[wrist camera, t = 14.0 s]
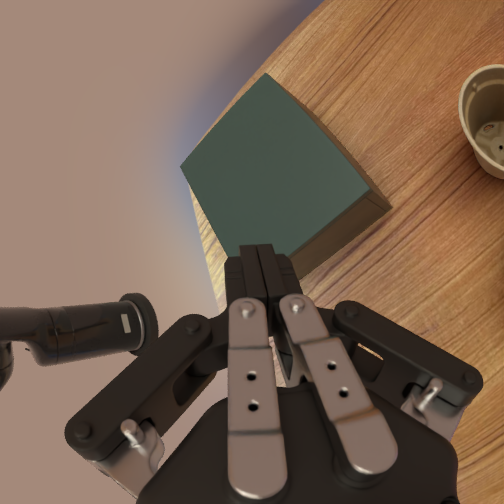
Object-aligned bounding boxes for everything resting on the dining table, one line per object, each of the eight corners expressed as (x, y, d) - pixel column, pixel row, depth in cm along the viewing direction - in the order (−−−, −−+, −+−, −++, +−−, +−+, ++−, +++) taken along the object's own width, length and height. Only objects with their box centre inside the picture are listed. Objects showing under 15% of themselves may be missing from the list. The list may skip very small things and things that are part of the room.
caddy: (237, 186, 41) (187, 173, 34) (313, 112, 35) (274, 80, 27) (296, 282, 36) (251, 289, 29) (392, 207, 30) (373, 190, 22)
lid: (184, 167, 34) (179, 166, 33) (269, 75, 28) (265, 72, 27) (250, 289, 29) (245, 290, 28) (373, 190, 22) (370, 188, 22)
